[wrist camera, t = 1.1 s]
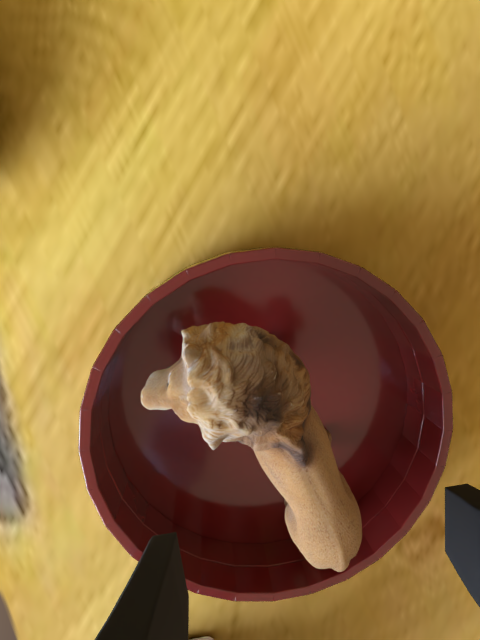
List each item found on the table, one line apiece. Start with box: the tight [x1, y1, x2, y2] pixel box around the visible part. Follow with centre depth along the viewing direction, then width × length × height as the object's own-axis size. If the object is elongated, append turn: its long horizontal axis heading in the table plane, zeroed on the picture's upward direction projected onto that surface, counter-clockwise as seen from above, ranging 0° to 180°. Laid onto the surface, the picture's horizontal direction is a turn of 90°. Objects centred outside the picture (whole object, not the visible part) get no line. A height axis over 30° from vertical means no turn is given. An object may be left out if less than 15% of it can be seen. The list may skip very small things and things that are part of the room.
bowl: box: [79, 247, 453, 601], centre depth 19 cm, size 17×17×4 cm
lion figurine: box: [141, 321, 362, 572], centre depth 16 cm, size 15×5×9 cm, turn 35°
